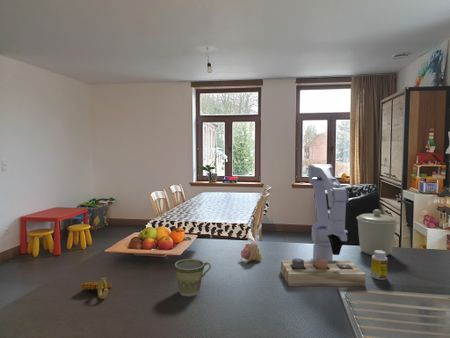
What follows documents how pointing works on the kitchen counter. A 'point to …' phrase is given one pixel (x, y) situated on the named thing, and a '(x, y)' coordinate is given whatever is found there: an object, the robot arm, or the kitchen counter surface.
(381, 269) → the supplement bottle
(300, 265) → the knob
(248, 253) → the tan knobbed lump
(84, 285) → the ornament
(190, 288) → the ceramic cup
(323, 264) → the knob middle
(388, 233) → the canister
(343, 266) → the knob
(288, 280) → the mount
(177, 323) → the kitchen counter surface
